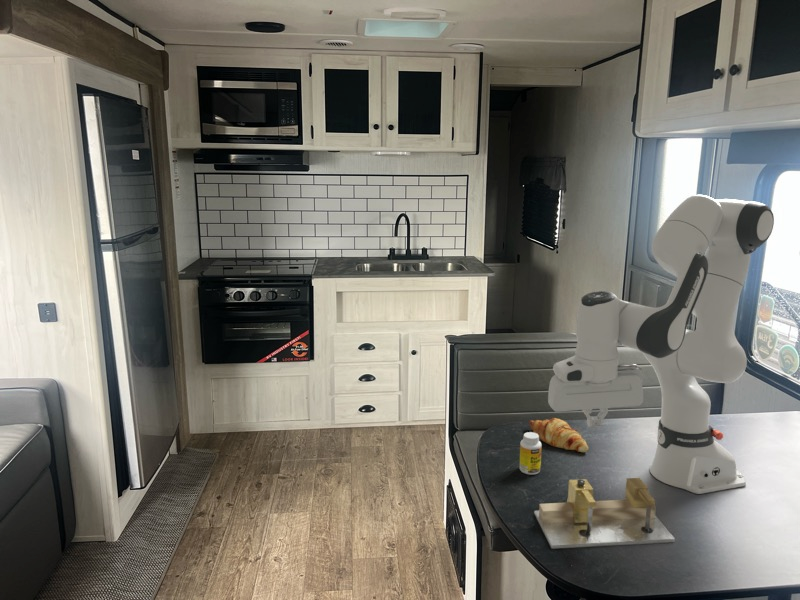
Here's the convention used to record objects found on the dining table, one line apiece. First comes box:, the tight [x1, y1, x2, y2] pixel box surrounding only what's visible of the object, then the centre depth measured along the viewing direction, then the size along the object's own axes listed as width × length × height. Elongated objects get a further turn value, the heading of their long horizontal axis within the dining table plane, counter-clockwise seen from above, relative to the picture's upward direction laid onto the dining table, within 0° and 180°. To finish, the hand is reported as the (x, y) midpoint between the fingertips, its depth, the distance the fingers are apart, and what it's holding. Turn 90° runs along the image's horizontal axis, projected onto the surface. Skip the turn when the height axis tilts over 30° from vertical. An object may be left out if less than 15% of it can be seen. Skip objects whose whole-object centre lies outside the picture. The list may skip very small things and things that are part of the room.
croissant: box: [528, 417, 589, 453], centre depth 174 cm, size 21×10×8 cm, turn 38°
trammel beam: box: [538, 477, 657, 530], centre depth 132 cm, size 26×9×8 cm, turn 93°
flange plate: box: [533, 510, 676, 550], centre depth 132 cm, size 27×13×1 cm, turn 93°
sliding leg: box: [566, 478, 597, 533], centre depth 132 cm, size 4×10×9 cm, turn 3°
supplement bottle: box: [519, 431, 543, 476], centre depth 157 cm, size 6×6×10 cm
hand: (594, 425), depth 131 cm, fingers closed
